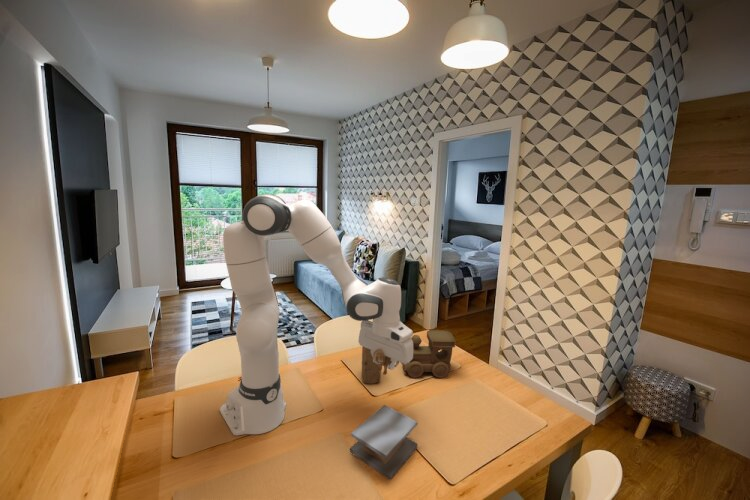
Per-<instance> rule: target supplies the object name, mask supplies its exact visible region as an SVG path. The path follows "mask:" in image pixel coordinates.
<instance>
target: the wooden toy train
mask: <svg viewBox="0 0 750 500" xmlns="http://www.w3.org/2000/svg"><path fill="white" fill-rule="evenodd" d="M410 338H411V339H412V341H413V359H412V360H411V361H410V362H408V363H407V370H404V369H403V371H404V372H406V373H407V375H408V376H409V377H411V378H413V379H414V378H415V379H417V378H420V377H421V376H422V375H423V374H424V372H431V373H432V375H433V376H434V377H435V378H439V379H441V378H445V377H446V376H447V375H448V373H450V372H451V366H452V365H451V360H452V355H453V348H456V339H455V336H453V334H452V332H451V331H449V330H437V329H436V330H435V329H433V330H431V329H429V330H426V338H427V340H428V345H421V344H422V341H423V340H422V338H421V337H420V335H417V334H414V335H412V336H411V337H410ZM404 367H405V365H403V364H402V368H404Z"/></svg>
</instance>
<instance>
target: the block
mask: <svg viewBox="0 0 750 500" xmlns="http://www.w3.org/2000/svg"><path fill="white" fill-rule="evenodd" d="M361 347H362V348H361V349H362V351H361V378H362V381H363V383H364V384H365V383H366V384H376V383H378V382H380V381H381V376H382V370H381V371H380V372H379V371H378V369H380V367H379V366H378V365H377V364H376V363H374V362H373V357H372V354H371V350H370V349H368V348H366V347H363V346H361Z"/></svg>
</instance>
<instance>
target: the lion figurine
mask: <svg viewBox="0 0 750 500" xmlns="http://www.w3.org/2000/svg"><path fill="white" fill-rule="evenodd" d="M373 358H374V362H375V363H376V364H377V365H378V366H379V367H380V369H378V371H379V372H380V371H381V372H382V370H383V372H382V374H383V375H384V376H386V375H387V374H388V364H389V363H390V362H392V361H391V358H390V357H387V356H385V355H384V352H383V351H382V350H381V349H377V350H376V351H375V352H374V354H373ZM399 364H401V365H402V366H403V365H405V367H404V368H403V367H402V368H403V371H404V370H407V364H404V363H401V362H399V361H397V362H396V363H395V364H394V368H397V367H398V365H399ZM383 368H384V369H383Z"/></svg>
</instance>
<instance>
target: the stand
mask: <svg viewBox="0 0 750 500" xmlns="http://www.w3.org/2000/svg"><path fill="white" fill-rule="evenodd" d="M416 427H418V421H416V420H414V419H413V418H411V417H409V416H408V415H407V416H406V415H405V414H403V413H401V412H399V411H398V410H395V409H394V408H391V407H389V406H387V405H386V404H384V405H383V406H381V407H380V408H378V410H377V411H375V412H374V413H372V414H371V415H370V416H369V417H368V418H367V419H366V420H365V421H363V422H362V423H361V424H360V425H359V426H358V427H356V428H355V429H354V430H353V431H351V432H350V437H351V438H353V439H354V440H355V441H356V442H355V443H354V444H353V445H351V447H349V453H350V452H351V453H352V454H351V453H350V454H351V455H353V454H354V455H355V456H356V458H357V459H359V460H360V461H361V462H363V463H364V464H366V465H367V466H369V467H370V468H371V469H374V470H375V471H376V472H377V473H379V474H380V475H382V476H383V477H385V478H386V479H387V480H390V481H391V480H392V478H393V477H394V476H395V475H396V474H397V473H398V471H399V470H400V469H401V468H402V467H403V465H404V464H405V463H406V462H407V461H408V459H409V458H410V457H411V456H412V455H413V454H414V452H415V451H416V450H417V449H418V443H417V442H415V441H414V440H413V439H410V438H409V437H408V435H410V433H411V432H412V431H413V430H414V429H415V428H416ZM354 455H353V456H354ZM355 456H354V457H355Z"/></svg>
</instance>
